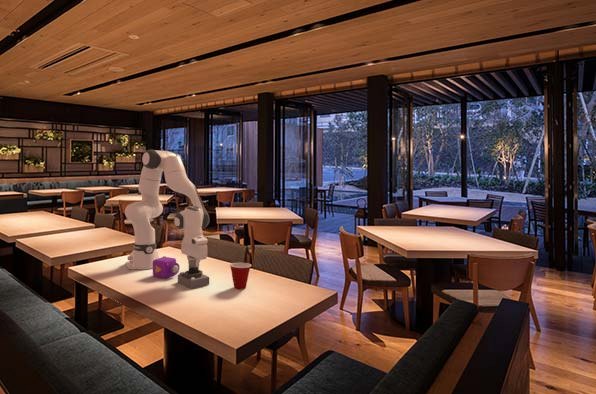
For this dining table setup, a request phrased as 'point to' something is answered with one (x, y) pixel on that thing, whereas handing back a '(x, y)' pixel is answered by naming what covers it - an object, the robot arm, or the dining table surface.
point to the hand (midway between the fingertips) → (193, 265)
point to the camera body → (193, 279)
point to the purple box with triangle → (165, 267)
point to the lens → (192, 264)
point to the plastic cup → (240, 274)
